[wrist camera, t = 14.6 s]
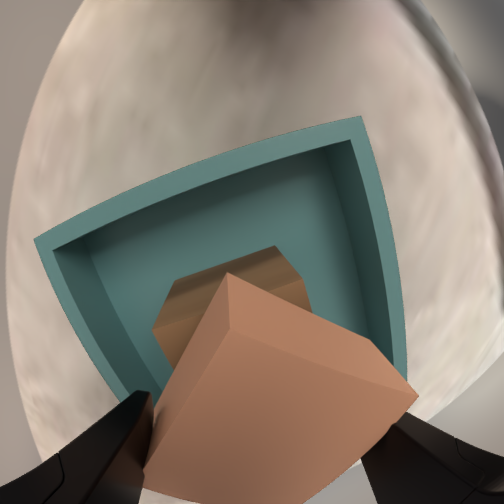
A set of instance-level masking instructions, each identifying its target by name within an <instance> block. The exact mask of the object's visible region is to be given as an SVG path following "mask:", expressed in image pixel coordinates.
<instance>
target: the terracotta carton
mask: <svg viewBox="0 0 504 504" xmlns="http://www.w3.org/2000/svg"><path fill="white" fill-rule="evenodd" d="M418 397H419V395H418V394H417V393H416V392H415V391H414V390H413V388H412V387H411V386H410V385H409V384H408V383H407V381H406V380H405V379H404V378H403V377H402V376H401V374H400V373H399V372H398V371H397V370H396V369H395V368H394V366H393V365H392V364H391V363H390V362H389V361H388V360H387V358H386V357H385V356H384V355H383V354H382V353H381V352H380V351H379V349H378V348H377V347H376V346H375V345H374V344H373V343H372V342H371V340H369V339H367V338H365V337H363V336H360V335H358V334H356V333H354V332H351V331H349V330H347V329H345V328H343V327H341V326H338V325H336V324H334V323H332V322H330V321H328V320H325V319H323V318H321V317H319V316H317V315H315V314H312V313H310V312H308V311H306V310H304V309H302V308H300V307H298V306H296V305H293V304H291V303H289V302H287V301H285V300H283V299H281V298H279V297H277V296H275V295H273V294H270V293H268V292H266V291H264V290H262V289H260V288H258V287H256V286H254V285H252V284H250V283H248V282H246V281H244V280H242V279H240V278H238V277H236V276H234V275H232V274H230V273H228V272H227V273H226V275H225V277H224V279H223V280H222V282H221V284H220V286H219V288H218V290H217V291H216V293H215V295H214V297H213V299H212V301H211V303H210V304H209V306H208V308H207V310H206V312H205V314H204V315H203V317H202V319H201V321H200V323H199V325H198V327H197V328H196V330H195V332H194V334H193V336H192V338H191V340H190V342H189V343H188V345H187V347H186V349H185V351H184V353H183V355H182V356H181V358H180V360H179V362H178V364H177V366H176V368H175V370H174V372H173V373H172V375H171V377H170V379H169V381H168V383H167V385H166V387H165V389H164V390H163V392H162V394H161V396H160V398H159V400H158V402H157V404H156V406H155V408H154V421H153V429H152V435H151V439H150V444H149V449H148V453H147V457H146V461H145V464H144V468H143V472H144V475H145V478H144V482H143V486H142V487H143V488H146V489H149V490H152V491H155V492H158V493H162V494H165V495H168V496H172V497H176V498H179V499H183V500H187V501H191V502H196V503H200V504H303V503H304V502H306V501H307V500H308V499H310V498H311V497H313V496H314V495H315V494H317V493H318V492H320V491H321V490H322V489H323V488H325V487H326V486H327V485H329V484H330V483H331V482H333V481H334V480H335V479H336V478H337V477H339V476H340V475H341V474H342V473H344V472H345V471H346V470H347V469H348V468H350V467H351V466H352V465H353V464H354V463H355V462H356V461H358V460H359V459H360V458H361V457H362V456H363V455H364V454H365V453H366V452H367V451H368V450H369V449H371V448H372V447H373V446H374V445H375V444H376V443H377V442H378V441H379V440H380V439H381V438H382V437H383V436H384V435H385V434H386V433H387V431H388V430H389V428H390V426H391V425H392V424H393V423H396V422H397V421H398V420H399V419H400V418H401V417H402V415H403V414H404V413H405V412H406V411H407V410H408V409H409V407H410V406H411V405H412V404H413V403H414V402H415V400H416V399H417V398H418Z"/></svg>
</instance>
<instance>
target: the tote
mask: <svg viewBox="0 0 504 504" xmlns="http://www.w3.org/2000/svg"><path fill="white" fill-rule="evenodd" d="M34 242H35V245H36V248H37V250H38V253H39V256H40V258H41V261H42V263H43V266H44V268H45V271H46V273H47V275H48V278H49V280H50V282H51V284H52V287H53V289H54V291H55V293H56V295H57V297H58V300H59V302H60V304H61V306H62V308H63V310H64V312H65V314H66V316H67V318H68V320H69V321H70V323H71V325H72V327H73V329H74V331H75V333H76V334H77V336H78V338H79V340H80V341H81V343H82V345H83V347H84V348H85V350H86V352H87V353H88V355H89V357H90V358H91V360H92V361H93V363H94V365H95V366H96V368H97V369H98V371H99V372H100V374H101V375H102V377H103V378H104V380H105V381H106V383H107V384H108V386H109V387H110V389H111V390H112V392H113V393H114V394H115V396H116V397H117V398H118V400H119V401H120V403H121V402H122V401H123V400H124V399H126V398H127V397H128V396H129V395H131V394H132V393H133V392H134V391H136V390H145V391H149V392H151V394H152V401H153V408H155V406H156V404H157V402H158V400H159V398H160V396H161V394H162V392H163V390H164V389H165V387H166V385H167V383H168V381H169V379H170V377H171V375H172V373H173V372H174V370H173V368H172V366H171V365H170V363H169V361H168V359H167V358H166V356H165V354H164V352H163V350H162V349H161V347H160V345H159V343H158V341H157V339H156V338H155V336H154V334H153V332H152V328H153V325H154V323H155V321H156V319H157V317H158V315H159V312H160V310H161V308H162V306H163V304H164V302H165V300H166V297H167V295H168V293H169V291H170V289H171V287H172V285H173V283H174V281H175V280H177V279H180V278H182V277H185V276H188V275H191V274H194V273H197V272H200V271H202V270H205V269H208V268H211V267H214V266H217V265H220V264H222V263H225V262H228V261H231V260H234V259H237V258H239V257H242V256H245V255H248V254H251V253H254V252H257V251H259V250H262V249H265V248H268V247H271V246H274V245H275V246H276V247H277V248H278V250H279V251H280V252H281V253H282V254H283V256H284V257H285V258H286V259H287V260H288V262H289V263H290V264H291V265H292V266H293V268H294V269H295V270H296V271H297V272H298V274H299V275H300V276H301V277H302V278H303V281H304V284H305V288H306V291H307V295H308V298H309V302H310V305H311V309H312V313H313V314H315V315H317V316H319V317H321V318H323V319H325V320H328V321H330V322H332V323H334V324H336V325H338V326H341V327H343V328H345V329H347V330H349V331H351V332H354V333H356V334H358V335H360V336H363V337H365V338H367V339H369V340H371V342H372V343H373V344H374V345H375V346H376V347H377V348H378V349H379V351H380V352H381V353H382V354H383V355H384V356H385V357H386V358H387V360H388V361H389V362H390V363H391V364H392V365H393V366H394V368H395V369H396V370H397V371H398V372H399V373H400V374H401V376H402V377H403V378H404V379H405V380H406V381H407V352H406V333H405V320H404V309H403V299H402V290H401V282H400V275H399V268H398V261H397V255H396V249H395V243H394V238H393V232H392V227H391V222H390V217H389V213H388V208H387V204H386V200H385V195H384V191H383V187H382V183H381V179H380V176H379V172H378V168H377V165H376V161H375V158H374V154H373V151H372V148H371V144H370V141H369V138H368V135H367V132H366V129H365V126H364V123H363V120H362V117H361V116H357V117H352V118H348V119H343V120H338V121H334V122H330V123H325V124H321V125H317V126H313V127H309V128H305V129H301V130H297V131H294V132H290V133H286V134H283V135H279V136H276V137H272V138H269V139H266V140H262V141H259V142H256V143H252V144H249V145H246V146H243V147H240V148H237V149H234V150H231V151H228V152H225V153H222V154H219V155H216V156H213V157H210V158H208V159H205V160H202V161H199V162H197V163H194V164H191V165H189V166H186V167H183V168H181V169H178V170H176V171H173V172H171V173H168V174H166V175H163V176H161V177H158V178H156V179H153V180H151V181H149V182H146V183H144V184H142V185H139V186H137V187H135V188H133V189H130V190H128V191H126V192H124V193H121V194H119V195H117V196H115V197H113V198H111V199H109V200H106V201H104V202H102V203H100V204H98V205H96V206H94V207H92V208H90V209H88V210H86V211H84V212H82V213H80V214H78V215H76V216H74V217H72V218H71V219H69V220H67V221H65V222H63V223H61V224H59V225H57V226H56V227H54V228H52V229H50V230H48V231H47V232H45V233H43V234H41V235H40V236H38V237H36V238H35V239H34Z"/></svg>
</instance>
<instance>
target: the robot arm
mask: <svg viewBox="0 0 504 504" xmlns="http://www.w3.org/2000/svg"><path fill="white" fill-rule="evenodd" d="M153 421H154V408H153V401H152V394H151V392H149V391H145V390H136V391H134V392H133V393H132V394H131V395H129V396H128V397H127V398H126V399H124V400H123V401H122V402H121V403H119V404H118V405H117V406H116V407H115V408H113V409H112V410H111V411H110V412H108V413H107V414H106V415H105V416H103V417H102V418H101V419H100V420H98V421H97V422H96V423H94V424H93V425H92V426H91V427H89V428H88V429H87V430H86V431H84V432H83V433H82V434H80V435H79V436H78V437H77V438H75V439H74V440H73V441H71V442H70V443H69V444H68V445H66V446H65V447H64V448H62V449H61V450H60V451H59V453H56V454H54V455H53V456H52V457H50V458H49V459H48V460H46V461H45V462H43V463H42V464H40V465H39V466H37V467H36V468H34V469H33V470H31V471H29V472H28V473H26V474H24V475H22V476H21V477H19V478H17V479H15V480H13V481H11V482H9V483H8V484H5V485H3V486H1V487H0V504H138V503H139V499H140V495H141V490H142V486H143V482H144V478H145V475H144V472H143V468H144V464H145V461H146V457H147V453H148V449H149V444H150V439H151V435H152V429H153ZM361 461H362V464H363V466H364V469H365V471H366V474H367V477H368V479H369V482H370V485H371V487H372V490H373V493H374V495H375V498H376V501H377V503H378V504H504V457H502V456H499V455H496V454H493V453H490V452H488V451H485V450H482V449H480V448H477V447H475V446H473V445H470V444H468V443H466V442H463V441H462V440H460V439H458V438H454V436H452V435H450V434H448V433H446V432H443V431H442V430H440V429H438V428H436V427H434V426H432V425H430V424H428V423H426V422H424V421H423V420H421V419H419V418H417V417H415V416H413V415H411V414H410V413H408V412H405V413H404V414H403V415H402V417H401V418H400V419H399V420H398V421H397V422H396V423H393V424H392V425H391V426H390V428H389V430H388V431H387V433H386V434H385V435H384V436H383V437H382V438H381V439H380V440H379V441H378V442H377V443H376V444H375V445H374V446H373V447H372V448H371V449H369V450H368V451H367V452H366V453H365V454H364V455H363V456H362V457H361Z"/></svg>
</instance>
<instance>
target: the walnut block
mask: <svg viewBox="0 0 504 504" xmlns="http://www.w3.org/2000/svg"><path fill="white" fill-rule="evenodd" d="M227 272H228V273H230V274H232V275H234V276H236V277H238V278H240V279H242V280H244V281H246V282H248V283H250V284H252V285H254V286H256V287H258V288H260V289H262V290H264V291H266V292H268V293H270V294H273V295H275V296H277V297H279V298H281V299H283V300H285V301H287V302H289V303H291V304H293V305H296V306H298V307H300V308H302V309H304V310H306V311H308V312H310V313H312V309H311V305H310V302H309V298H308V295H307V291H306V288H305V284H304V281H303V278H302V277H301V276H300V275H299V274H298V272H297V271H296V270H295V269H294V268H293V266H292V265H291V264H290V263H289V262H288V260H287V259H286V258H285V257H284V256H283V254H282V253H281V252H280V251H279V250H278V248H277V247H276V246H275V245H274V246H271V247H268V248H265V249H262V250H259V251H257V252H254V253H251V254H248V255H245V256H242V257H239V258H237V259H234V260H231V261H228V262H225V263H222V264H220V265H217V266H214V267H211V268H208V269H205V270H202V271H200V272H197V273H194V274H191V275H188V276H185V277H182V278H180V279H177V280H175V281H174V283H173V285H172V287H171V289H170V291H169V293H168V295H167V297H166V300H165V302H164V304H163V306H162V308H161V310H160V312H159V315H158V317H157V319H156V321H155V323H154V325H153V328H152V332H153V334H154V336H155V338H156V339H157V341H158V343H159V345H160V347H161V349H162V350H163V352H164V354H165V356H166V358H167V359H168V361H169V363H170V365H171V366H172V368H173V370H175V368H176V366H177V364H178V362H179V360H180V358H181V356H182V355H183V353H184V351H185V349H186V347H187V345H188V343H189V342H190V340H191V338H192V336H193V334H194V332H195V330H196V328H197V327H198V325H199V323H200V321H201V319H202V317H203V315H204V314H205V312H206V310H207V308H208V306H209V304H210V303H211V301H212V299H213V297H214V295H215V293H216V291H217V290H218V288H219V286H220V284H221V282H222V280H223V279H224V277H225V275H226V273H227ZM312 314H313V313H312Z"/></svg>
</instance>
